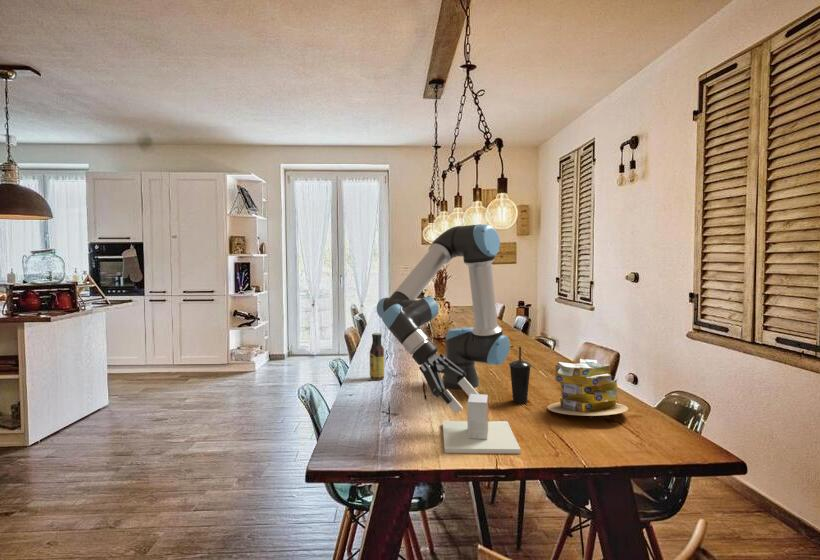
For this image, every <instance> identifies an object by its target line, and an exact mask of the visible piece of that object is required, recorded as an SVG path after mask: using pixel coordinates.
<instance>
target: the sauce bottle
mask: <svg viewBox="0 0 820 560" xmlns="http://www.w3.org/2000/svg"><path fill="white" fill-rule="evenodd" d="M371 337H372V343H371V347H370V350H369V376H370V380H372V381H382V380H384V378H385V349H384V346H383V345H382V333H380V332H373V333H372V334H371Z"/></svg>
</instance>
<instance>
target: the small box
mask: <svg viewBox="0 0 820 560" xmlns="http://www.w3.org/2000/svg"><path fill="white" fill-rule="evenodd" d="M466 403H467V416H466V417H467V420H466V421H468V438H473V439H487V436H488V421H489V394H483V393H482V394H481V393H478V394H469V396H468V399H467V402H466Z"/></svg>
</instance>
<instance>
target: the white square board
mask: <svg viewBox="0 0 820 560" xmlns="http://www.w3.org/2000/svg"><path fill="white" fill-rule="evenodd" d="M442 433H443V434H442V435H443V447H444V454H514V455H515V454H518V455H519V454H521V452H522V451H521V447H520V445H519V443H518V441H517V438H516V436H515V434H514V433H513V431H512V428H511V426H510V424H509V422H508V421H507V420H506V421H504V420H503V421H501V420H500V421H498V420H497V421H495V420H493V421H492V420H491V421H490V420H488V436H487V439H473V438H468V421H467V420H443V421H442Z"/></svg>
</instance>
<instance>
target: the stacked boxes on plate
mask: <svg viewBox="0 0 820 560" xmlns="http://www.w3.org/2000/svg"><path fill="white" fill-rule="evenodd" d="M554 375H555V376H554V377H555V382H556V383H559V385H560V387H561V388H560V389H561V390H560V392H561V393H560V395H561V398H560V400H559V401H558V402H554V403H550V404H549V405H547V409H548V410H549V411H551V412H554V413H556V414H557V413H558V414H563V415H568V416H589V419H590V420H592V417H594V416H595V417H596V416H610V415H617V414H622V413H624V412H625V413H626V412H627V411H628V410H629V407H628V406H627V405H624V404H621V403H618V402H619V400H618V379H615V380H612V374H611V365H610V364H608V363H606V364H605V363H602V362H601V363H599V362H597V363H593V362H592V363H591V362H590V363H584V362H583V363H580V362H577V363H570V362H563V361H562V362H561V361H558V362H557V363H556V364H555V373H554Z"/></svg>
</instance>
